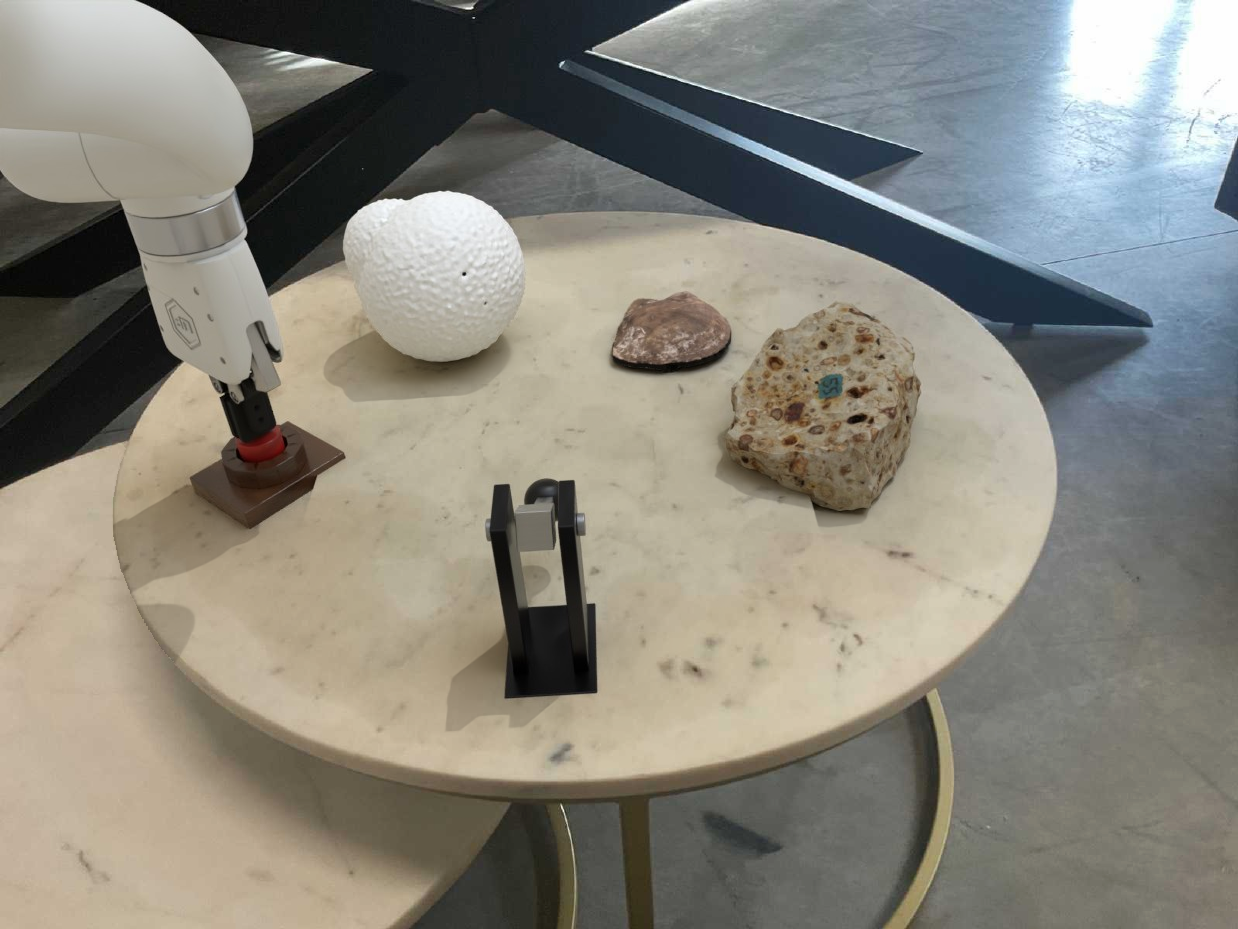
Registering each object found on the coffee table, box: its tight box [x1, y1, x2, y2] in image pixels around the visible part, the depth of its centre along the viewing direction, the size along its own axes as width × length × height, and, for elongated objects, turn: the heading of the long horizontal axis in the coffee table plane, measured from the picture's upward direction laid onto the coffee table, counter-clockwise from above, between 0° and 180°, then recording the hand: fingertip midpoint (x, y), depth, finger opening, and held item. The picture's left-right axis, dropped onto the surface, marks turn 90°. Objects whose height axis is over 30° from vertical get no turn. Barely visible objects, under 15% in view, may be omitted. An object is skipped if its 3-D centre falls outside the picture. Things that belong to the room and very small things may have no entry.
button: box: [235, 423, 285, 463], centre depth 85 cm, size 4×4×2 cm
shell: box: [611, 290, 732, 373], centre depth 101 cm, size 12×13×4 cm
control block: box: [189, 420, 346, 530], centre depth 86 cm, size 10×8×4 cm
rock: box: [723, 300, 922, 512], centre depth 87 cm, size 21×14×10 cm
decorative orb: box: [310, 168, 527, 363], centre depth 99 cm, size 20×18×16 cm
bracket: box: [484, 479, 598, 700], centre depth 66 cm, size 8×6×14 cm
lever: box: [514, 477, 559, 553], centre depth 68 cm, size 13×3×3 cm
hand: (255, 431), depth 84 cm, fingers closed
